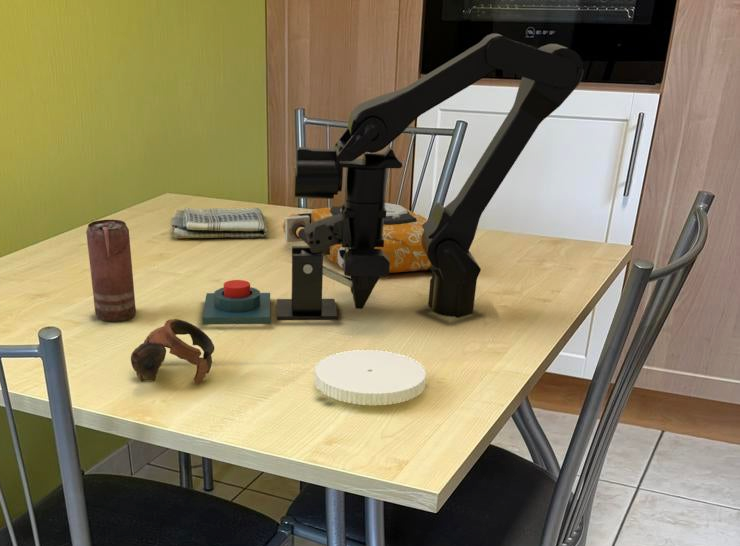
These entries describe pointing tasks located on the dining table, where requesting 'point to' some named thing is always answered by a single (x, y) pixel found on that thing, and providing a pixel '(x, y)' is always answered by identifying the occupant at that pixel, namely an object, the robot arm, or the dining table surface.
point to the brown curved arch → (172, 350)
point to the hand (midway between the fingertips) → (358, 304)
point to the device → (397, 233)
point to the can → (111, 270)
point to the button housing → (236, 308)
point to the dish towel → (219, 223)
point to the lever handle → (335, 275)
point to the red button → (236, 289)
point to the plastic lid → (370, 377)
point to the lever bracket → (306, 289)
